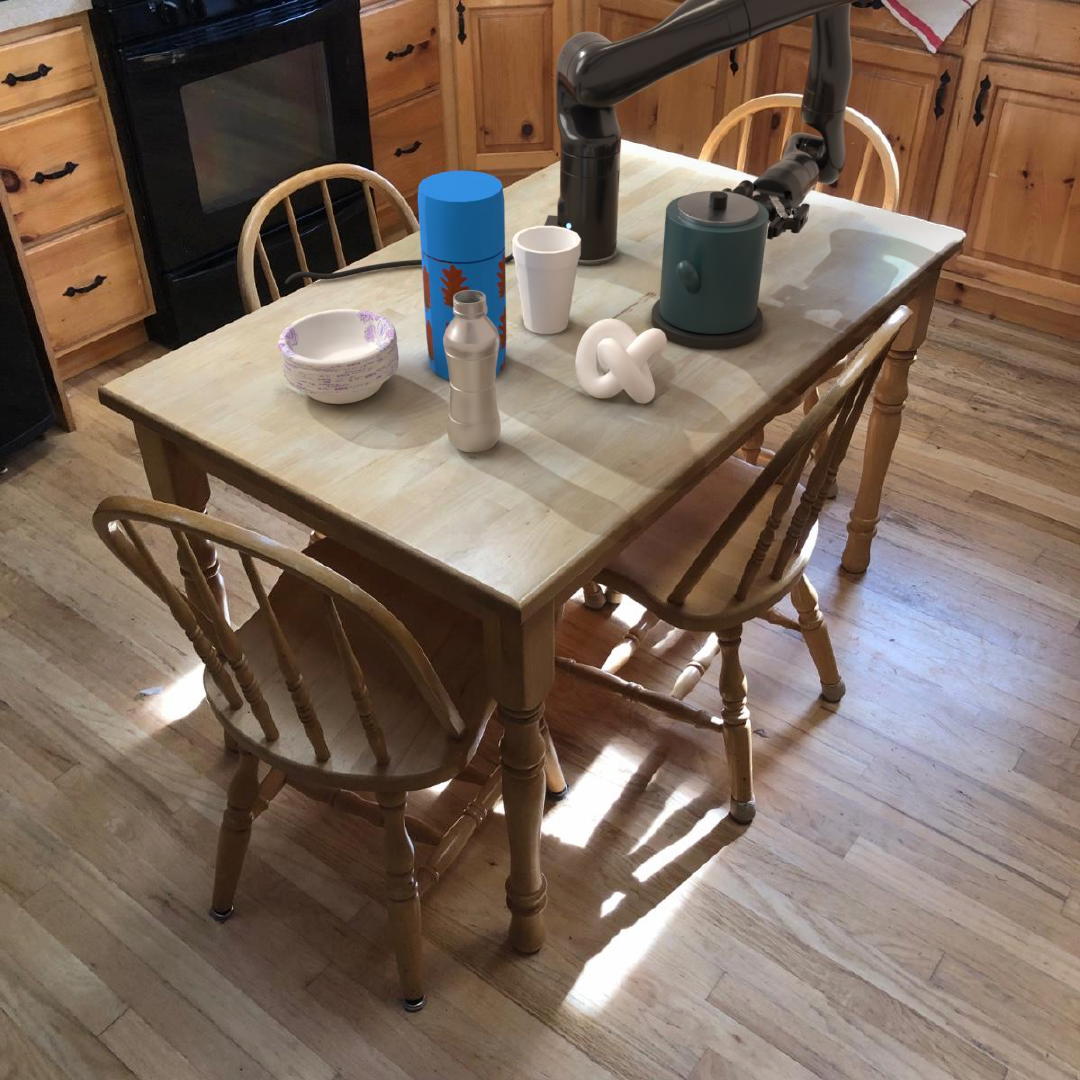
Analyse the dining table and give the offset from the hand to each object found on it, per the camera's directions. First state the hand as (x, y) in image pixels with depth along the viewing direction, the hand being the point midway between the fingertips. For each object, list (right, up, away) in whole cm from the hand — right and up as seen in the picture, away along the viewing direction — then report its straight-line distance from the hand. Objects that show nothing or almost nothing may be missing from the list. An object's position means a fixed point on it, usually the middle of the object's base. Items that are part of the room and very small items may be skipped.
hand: (742, 227), depth 174 cm
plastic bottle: (-38, -34, -27) cm, 58 cm away
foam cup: (-29, -15, -2) cm, 32 cm away
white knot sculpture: (-19, -27, -17) cm, 37 cm away
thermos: (-40, -22, -11) cm, 46 cm away
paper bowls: (-56, -26, -16) cm, 64 cm away
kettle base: (-5, -14, -1) cm, 15 cm away
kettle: (-5, -13, -2) cm, 14 cm away
